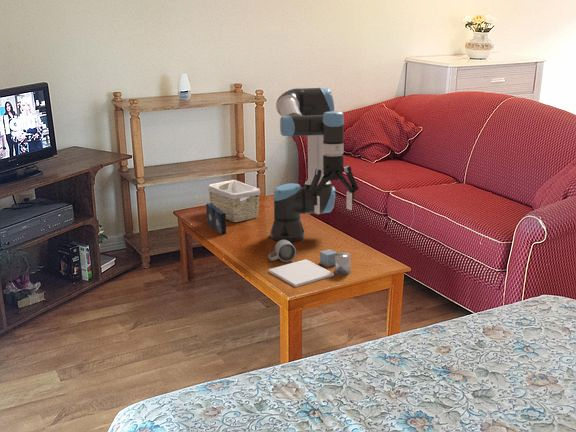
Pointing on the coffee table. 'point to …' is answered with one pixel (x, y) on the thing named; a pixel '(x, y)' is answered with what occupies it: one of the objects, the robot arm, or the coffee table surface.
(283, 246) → the ceramic mug
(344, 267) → the metal tin
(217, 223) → the vhs cassette tape
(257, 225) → the coffee table surface
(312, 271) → the white thin square slab
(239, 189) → the storage basket
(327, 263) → the slate block
